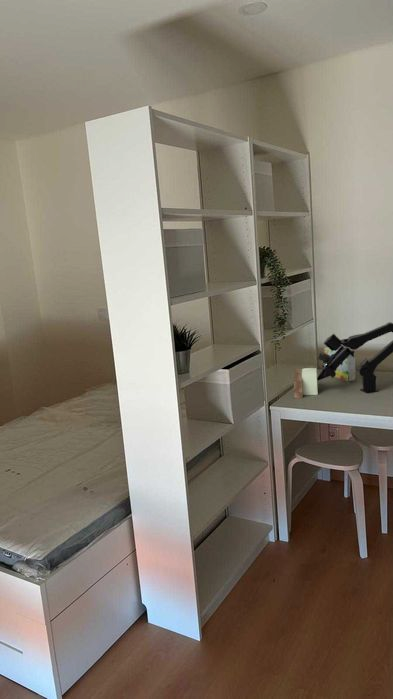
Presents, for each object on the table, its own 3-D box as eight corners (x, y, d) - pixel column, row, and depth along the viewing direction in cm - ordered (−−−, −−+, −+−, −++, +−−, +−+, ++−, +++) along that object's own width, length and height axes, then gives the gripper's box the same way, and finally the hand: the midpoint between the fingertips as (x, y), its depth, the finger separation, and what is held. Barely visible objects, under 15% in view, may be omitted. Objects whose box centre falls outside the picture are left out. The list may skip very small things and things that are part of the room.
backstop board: (303, 386, 279) (302, 369, 277) (302, 398, 260) (302, 380, 258) (295, 386, 280) (294, 370, 278) (294, 398, 261) (293, 380, 259)
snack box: (324, 373, 301) (323, 347, 298) (333, 372, 302) (332, 346, 299) (347, 382, 281) (346, 354, 278) (356, 380, 283) (356, 352, 280)
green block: (317, 388, 273) (316, 367, 271) (317, 394, 263) (316, 372, 261) (303, 389, 274) (302, 368, 272) (303, 395, 265) (301, 373, 263)
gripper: (326, 342, 271) (305, 364, 276) (327, 350, 253) (304, 374, 258) (342, 356, 271) (321, 378, 276) (345, 365, 253) (322, 389, 258)
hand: (317, 379), depth 267 cm, fingers closed, pressing on green block
